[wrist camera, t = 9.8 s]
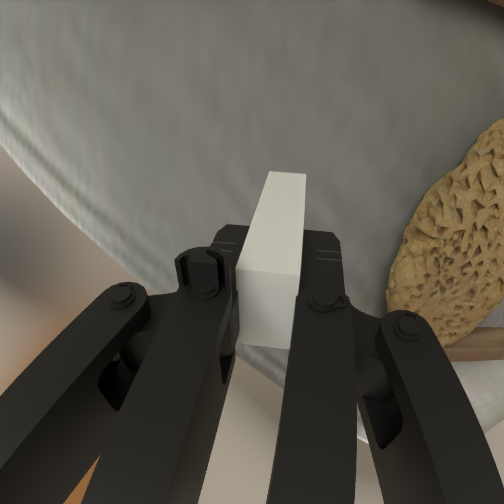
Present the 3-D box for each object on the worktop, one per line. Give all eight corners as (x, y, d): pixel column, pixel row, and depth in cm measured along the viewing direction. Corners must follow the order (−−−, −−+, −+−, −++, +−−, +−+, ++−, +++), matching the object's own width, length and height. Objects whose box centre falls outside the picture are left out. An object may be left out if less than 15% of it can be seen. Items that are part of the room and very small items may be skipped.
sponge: (479, 87, 17) (319, 277, 24) (557, 107, 10) (354, 354, 17) (529, 192, 22) (405, 335, 28) (583, 227, 15) (440, 394, 22)
